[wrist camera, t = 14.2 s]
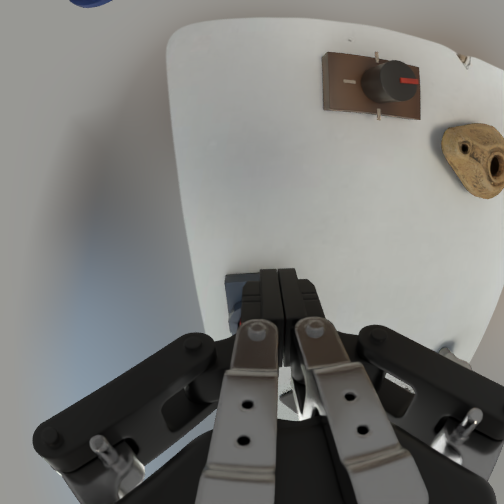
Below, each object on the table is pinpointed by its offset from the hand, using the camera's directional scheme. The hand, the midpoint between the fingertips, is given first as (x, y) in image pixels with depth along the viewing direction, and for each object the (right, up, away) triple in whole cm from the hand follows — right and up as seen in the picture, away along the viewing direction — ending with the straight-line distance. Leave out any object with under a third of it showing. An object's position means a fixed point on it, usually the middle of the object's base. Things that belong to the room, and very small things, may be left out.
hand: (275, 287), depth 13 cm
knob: (+13, +21, +15) cm, 29 cm away
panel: (+13, +22, +18) cm, 31 cm away
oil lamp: (+31, +16, +21) cm, 40 cm away
